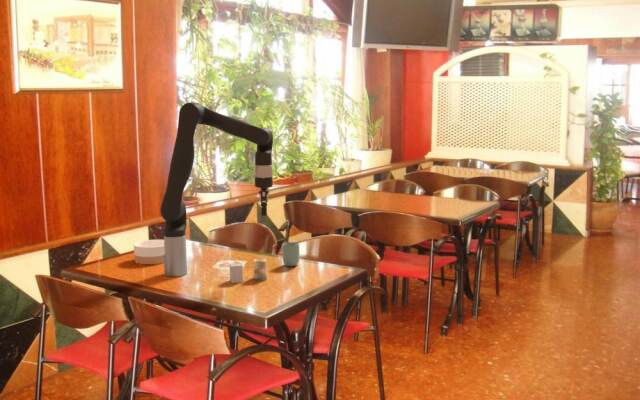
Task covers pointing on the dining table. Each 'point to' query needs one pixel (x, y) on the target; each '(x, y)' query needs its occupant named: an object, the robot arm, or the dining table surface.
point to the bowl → (149, 251)
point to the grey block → (236, 273)
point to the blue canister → (260, 269)
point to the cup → (290, 253)
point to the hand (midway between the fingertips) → (264, 213)
